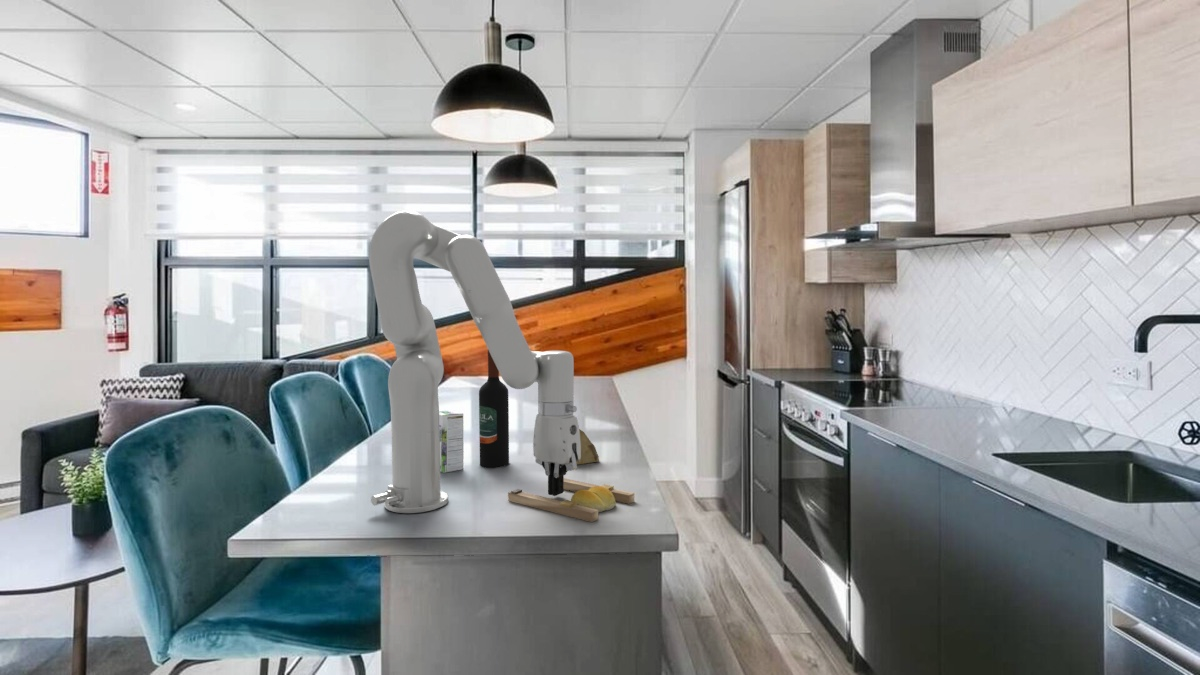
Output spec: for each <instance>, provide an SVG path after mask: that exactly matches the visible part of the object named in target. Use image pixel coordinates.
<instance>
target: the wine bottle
mask: <svg viewBox="0 0 1200 675" xmlns="http://www.w3.org/2000/svg"><path fill="white" fill-rule="evenodd" d="M487 375H488V376H487V380H486V381H485V383H483V384H482V385H481V387H480V388H479V390H478V419H479V420H478V425H479V429H478V431H479V432H478V433H479V437H478V438H479V466H480V467H481V466H482V468H485V467H486V468H487V469H498V468H503V467H507V466H509V464H510V432H509V431H510V430H509V429H510V427H509V426H510V425H509V424H510V422H509V419H510V416H509V410H510V409H509V407H510V406H509V405H510V404H509V389H508V387H507V386H506V385H505V383H503V382H502V381H501V380H500V373H499V371H498V369H497V367H496V364H495V362H494V360H493V358H492V356H491V354H490V352H489V350H488V349H487Z"/></svg>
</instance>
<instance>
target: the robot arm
mask: <svg viewBox="0 0 1200 675" xmlns="http://www.w3.org/2000/svg"><path fill="white" fill-rule="evenodd" d="M368 249H369V250H368V260H369V262H368V263H369V268H370V269H369V270H370V275H371V279H372V280H371V281H372V283H373V284H372V285H373V289H374V297H375V300H376V305H377V311H378V316H379V320H380V327H381V332H382V334H383V336H384V337H385V339H386V340H387V341H388V342H389V343H391V344H393V347H394V351H395V356H396V360H395V361H394V362H393V364H392V365H391V367H390V370H389V373H388V378H387V386H388V387H387V388H388V395H389V396H388V397H389V405H390V429H391V430H390V432H391V464H392V466H391V470H392V471H391V472H392V476H391V477H392V484H389V485H387V490H385V492H384V493H378V494H374V495H372V496H371V497H370V503H371V504H372V506H377V505H381V504H384V507H385V509H386V510H387V511H390V512H393V513H398V514H419V513H425V512H431V511H435V510H436V509H437V510H438V509H440V508H441V507H444V506H445V505H447V504H448V502H449V495H448V493H446V492H444V491H443V490H441V471H440V428H439V411H440V406H439V405H440V404H439V384H440V383H441V381H442V379H443V376H444V370H445V369H444V361H443V358H442V352H441V349H440V348H441V347H440V342H439V337H438V334H437V328H436V324H435V319H434V317H433V315H432V312H431V311H430V309H429V308H428V307H427V306H426V305H425V304H423V303H422V299H421V294H420V291H419V289H420V288H419V285H418V278H417V274H416V271H415V267H414V258H415V259H418V260H421V261H423V262H425V263H428V264H430V265H433V266H434V267H437V268H440V269H442V270H444V271H447V272H450V274H451V276H452V278H453V280H454V281H455V284H456V286H457V289H459V291H460V295H461V297H462V298H463V300H464V302H465V304H466V307H467V308H468V309H467V310H469V313H470V315H471V317H472V319H473V322H474V324H475V326H476V328H477V329H478V331H479V332H480V334H481V336H482V337H481V338H482V339H483V341H484V344H485V345H486V348H487V351H488V350H489V352H490V354H491V356H492V358H493V360H494V362H495V364H496V367H497V369H498V371H499V376H500V378H502V380H503V381H504V384H506V385H507V386H509V387H510V388H512V389H515V390H525V389H527V388H530V387H532V386H533V384H534V383H537V386H538V388H537V392H538V394H537V402H538V403H537V408H538V409H537V414H536V417H535V420H534V422H535V423H534V428H533V441H532V442H533V443H532V447H533V448H532V449H533V450H532V451H533V452H532V453H533V457H534V458H535V463H536V464H538V465H539V466H542V468H543V470H544V471H545V472H544V473H545V476H546V477H547V494H548V495H549V496H554V497H556V496H558V495H561V494H563V493H564V489H563V485H564V477H565V475H567V473H568V472H570V471H575V470H577V469H578V465H577V464H576V461H579V460H580V458H581V444H580V432H579V429H580V427H579V426H580V425H579V422H578V416H577V415H575V414H574V413H576V412H577V410H578V409H577V408H578V407H577V406H576V405H574V402H575V400H574V394H575V393H574V392H575V391H574V389H575V388H574V384H575V382H574V381H575V378H574V377H575V376H574V373H575V372H574V371H575V370H574V369H575V368H574V365H575V364H574V360H575V359H574V355H573V354H572V352H570V351H567V350H545V351H537V350H536V351H535V350H531V348H530V346H529V344H528V342H527V340H526V338H525V336H524V333H523V331H522V329H521V328H520V325H519V323H518V320H517V318H516V315H515V311H514V308H513V304H512V302H511V300H510V297H509V295H508V293H507V291H506V289H505V286H504V285H503V283H502V281H501V279H500V277H499V274H498V273H497V271H496V269H495V266H494V264H493V262H492V260H491V258H490V256H489V254H488V251H487V250H486V248H485V245H484V244H483V242H481V240H480V239H479V238H477V237H476V236H473V235H470V234H462V235H461V234H459V233H456V232H454V231H451V230H448V229H446V228H444V227H442V226H440V225H439V224H436V223H433V222H431V221H430V220H429V219H428V218H426V217H425V216H424V215H423V214H421V213H420V212H416V211H414V210H402V211H397V212H395V213H393V214H391V215H390V216H388V217H387V218H385V219H384V220H383V221H382V222H381V223H380V224H379V225H378V226H377V228H376V230H375V231H374V233H373V235H372V237H371V240H370V243H369V248H368Z"/></svg>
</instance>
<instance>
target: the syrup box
mask: <svg viewBox="0 0 1200 675" xmlns="http://www.w3.org/2000/svg"><path fill="white" fill-rule="evenodd" d="M439 428H440V473H443V474H445V473H449V472H455V471H460V470H464V467H465V466H464V464H465V462H464V453H465V452H464V413H463V412H459V411H455V410H439Z"/></svg>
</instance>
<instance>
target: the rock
mask: <svg viewBox="0 0 1200 675" xmlns="http://www.w3.org/2000/svg"><path fill="white" fill-rule="evenodd" d="M579 432H580V444H581V458H580V460H579V461H576V464H577V466H578V465H584V464H590V463H596V462H600V458H599V457H600V456H599V454H598V452H597V448H596V447H595V445H594V443H593V442H592V441H591V440H590V439H589V437H588V436H587V434H586V433H585V431H583V430H581V429H580V428H579Z"/></svg>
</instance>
